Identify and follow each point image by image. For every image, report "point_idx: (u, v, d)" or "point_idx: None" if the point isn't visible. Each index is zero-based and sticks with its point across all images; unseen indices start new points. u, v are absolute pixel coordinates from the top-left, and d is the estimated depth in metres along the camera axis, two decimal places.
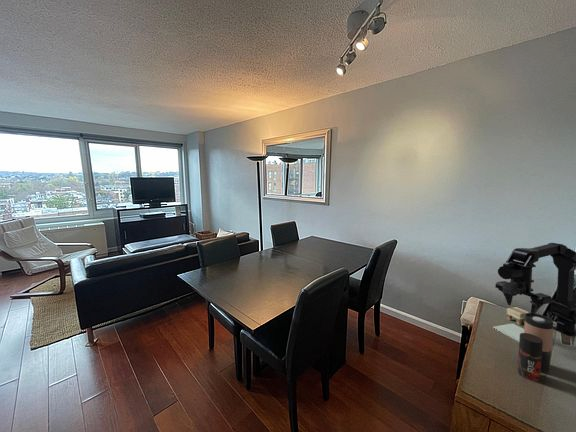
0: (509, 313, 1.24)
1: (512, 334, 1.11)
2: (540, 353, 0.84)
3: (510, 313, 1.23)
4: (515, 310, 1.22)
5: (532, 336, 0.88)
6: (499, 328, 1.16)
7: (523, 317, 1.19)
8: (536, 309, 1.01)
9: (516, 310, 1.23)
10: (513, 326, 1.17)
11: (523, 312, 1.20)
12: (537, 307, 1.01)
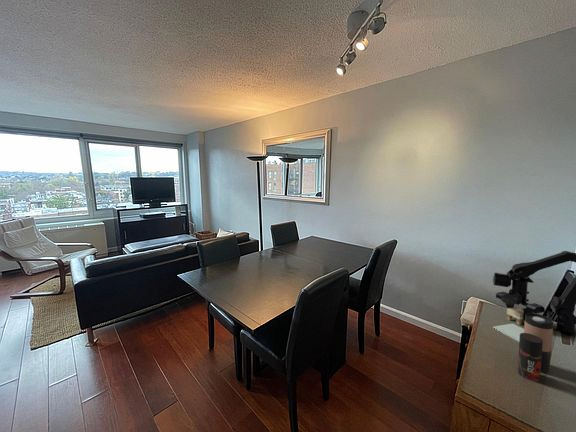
0: (509, 313, 1.24)
1: (512, 334, 1.11)
2: (540, 353, 0.84)
3: (510, 313, 1.23)
4: (515, 310, 1.22)
5: (532, 336, 0.88)
6: (499, 328, 1.16)
7: None
8: None
9: (516, 310, 1.23)
10: (513, 326, 1.17)
11: (523, 312, 1.20)
12: None
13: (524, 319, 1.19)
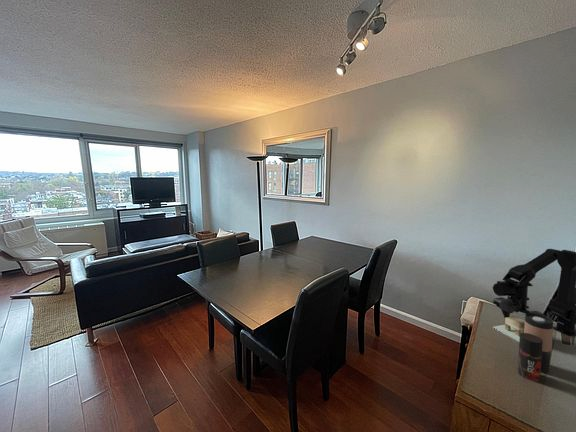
0: (507, 323, 1.14)
1: (512, 334, 1.11)
2: (540, 353, 0.84)
3: (508, 323, 1.13)
4: (514, 320, 1.12)
5: (532, 336, 0.88)
6: (499, 328, 1.16)
7: (523, 328, 1.09)
8: None
9: (515, 319, 1.13)
10: None
11: (523, 322, 1.10)
12: None
13: None
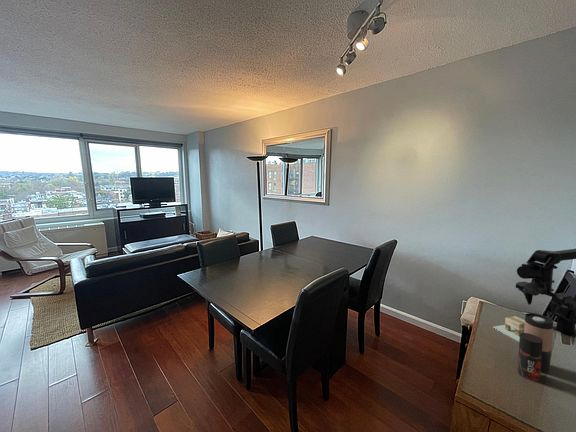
0: (507, 323, 1.14)
1: (512, 334, 1.11)
2: (540, 353, 0.84)
3: (508, 323, 1.13)
4: (514, 320, 1.12)
5: (532, 336, 0.88)
6: (499, 328, 1.16)
7: (523, 328, 1.09)
8: (557, 308, 1.06)
9: (515, 319, 1.13)
10: None
11: (523, 322, 1.10)
12: (558, 306, 1.06)
13: (553, 312, 1.07)
